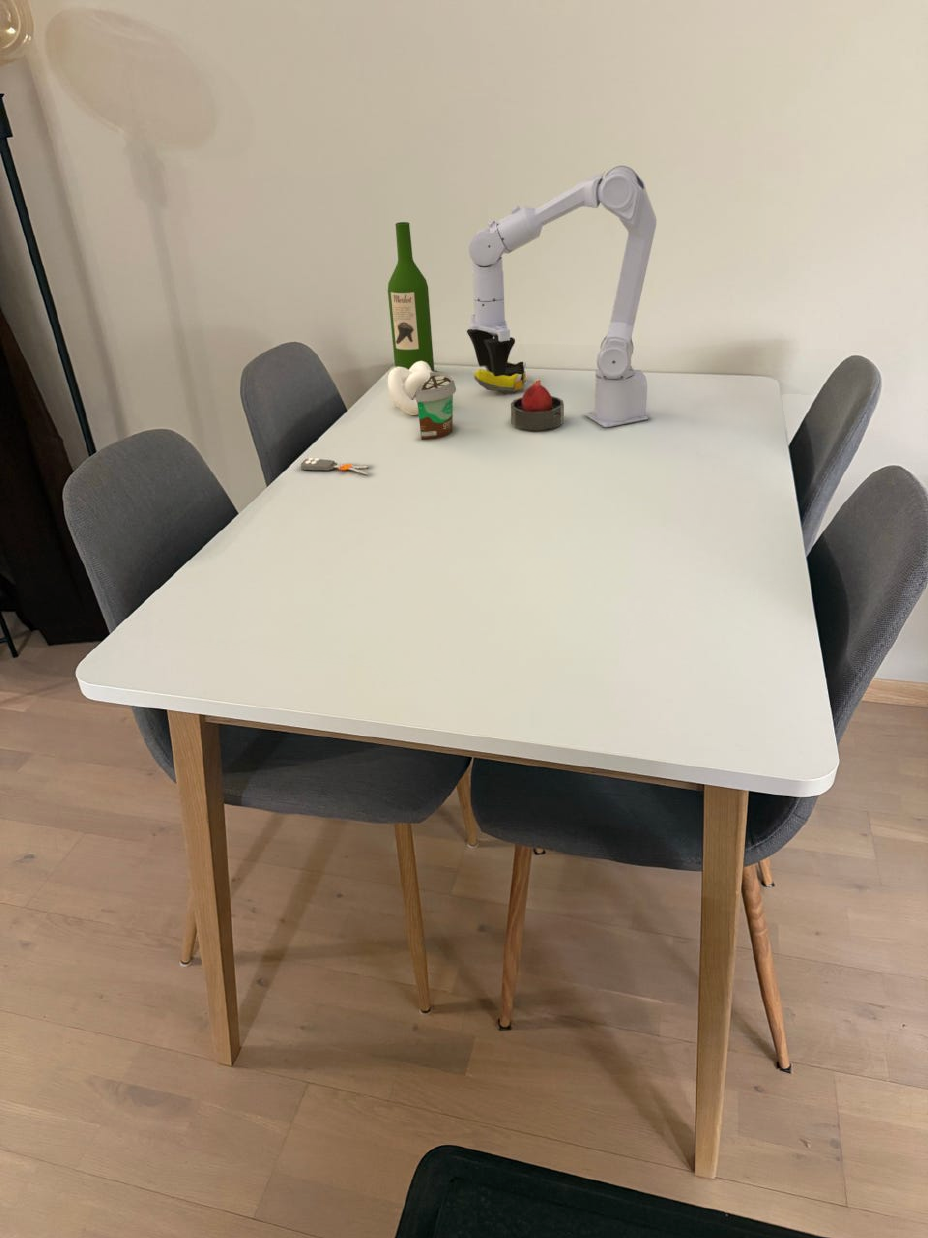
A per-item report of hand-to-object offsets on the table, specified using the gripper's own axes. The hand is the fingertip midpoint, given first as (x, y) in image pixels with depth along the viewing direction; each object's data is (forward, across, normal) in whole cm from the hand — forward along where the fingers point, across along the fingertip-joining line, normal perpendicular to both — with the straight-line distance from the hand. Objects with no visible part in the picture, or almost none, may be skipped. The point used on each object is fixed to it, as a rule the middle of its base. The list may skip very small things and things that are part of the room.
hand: (491, 370), depth 176 cm
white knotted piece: (+10, -13, -12) cm, 20 cm away
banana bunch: (+10, -17, +9) cm, 21 cm away
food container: (+10, +3, -12) cm, 16 cm away
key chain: (+10, +12, -35) cm, 38 cm away
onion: (+9, +8, +6) cm, 13 cm away
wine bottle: (+10, -35, -5) cm, 37 cm away
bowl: (+9, +8, +6) cm, 14 cm away
